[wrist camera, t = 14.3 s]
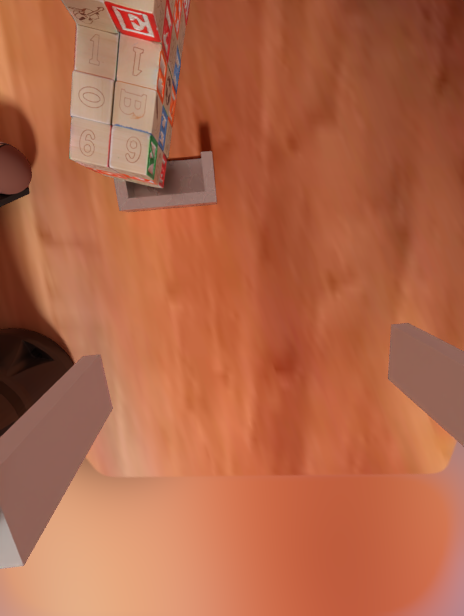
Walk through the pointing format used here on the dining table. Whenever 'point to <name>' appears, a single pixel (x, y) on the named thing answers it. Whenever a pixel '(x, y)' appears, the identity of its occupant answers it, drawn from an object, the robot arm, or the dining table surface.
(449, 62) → the dining table surface
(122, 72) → the stack of blocks
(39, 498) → the robot arm
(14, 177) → the character figurine
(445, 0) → the dining table surface
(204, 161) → the grey piece
